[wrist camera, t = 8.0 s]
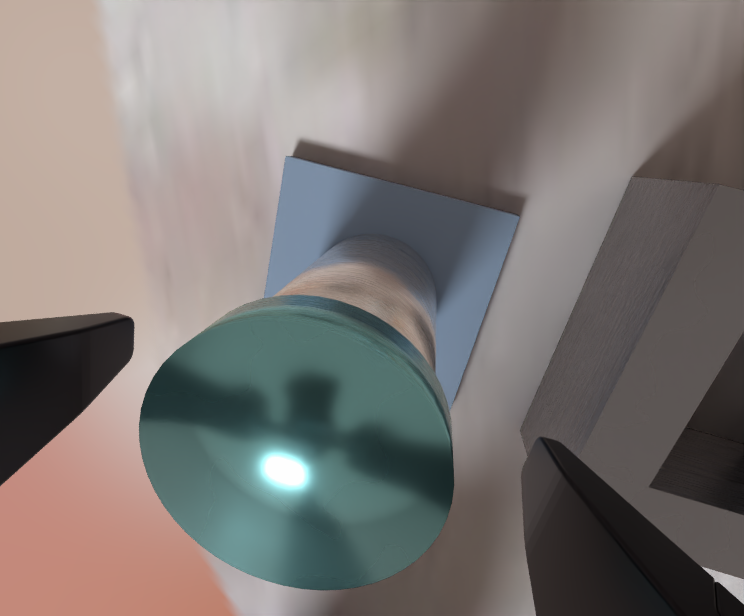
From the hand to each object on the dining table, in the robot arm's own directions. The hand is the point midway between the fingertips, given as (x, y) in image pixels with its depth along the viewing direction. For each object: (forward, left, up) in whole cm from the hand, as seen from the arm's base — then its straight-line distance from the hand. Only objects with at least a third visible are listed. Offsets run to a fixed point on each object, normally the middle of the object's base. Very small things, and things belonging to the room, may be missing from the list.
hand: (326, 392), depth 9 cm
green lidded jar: (0, 0, -7) cm, 7 cm away
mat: (0, 0, -7) cm, 7 cm away
